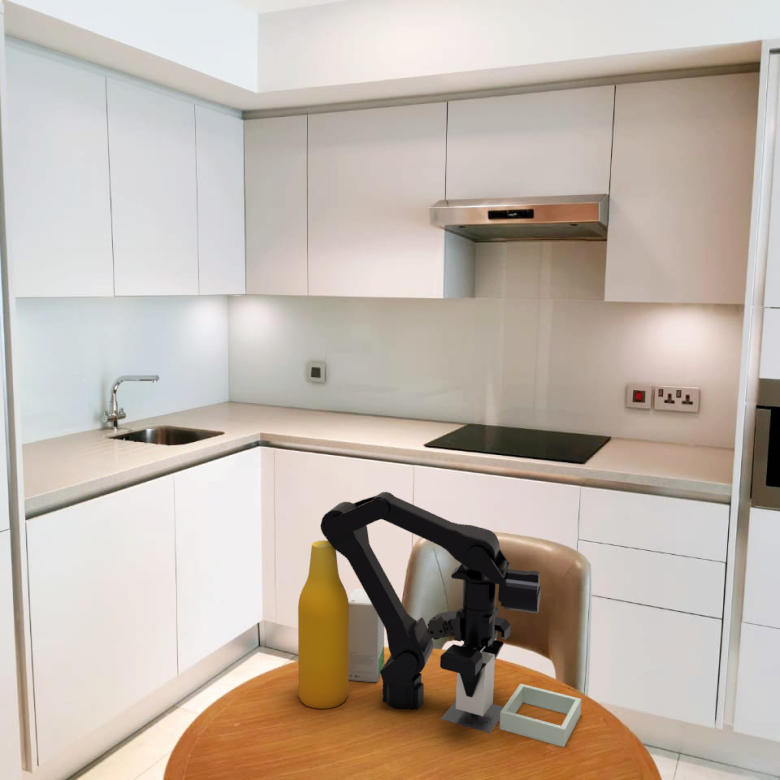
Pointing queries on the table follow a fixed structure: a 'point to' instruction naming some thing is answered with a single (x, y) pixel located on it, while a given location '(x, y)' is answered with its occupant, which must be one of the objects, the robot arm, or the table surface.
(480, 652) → the robot arm
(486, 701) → the grey tall block
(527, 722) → the bin
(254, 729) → the table surface
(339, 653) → the beer bottle
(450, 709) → the stud plate
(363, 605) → the skincare box
